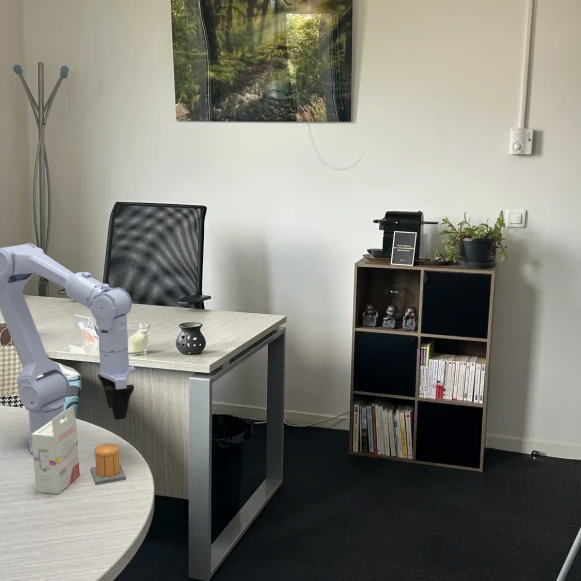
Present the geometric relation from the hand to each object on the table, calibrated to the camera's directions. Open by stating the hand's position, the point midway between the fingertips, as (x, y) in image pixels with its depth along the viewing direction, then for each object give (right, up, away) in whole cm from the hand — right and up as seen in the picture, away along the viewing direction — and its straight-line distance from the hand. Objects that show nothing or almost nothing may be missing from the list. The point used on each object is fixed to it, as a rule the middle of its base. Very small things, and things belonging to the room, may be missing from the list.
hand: (117, 412), depth 151 cm
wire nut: (0, -11, -6) cm, 12 cm away
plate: (0, -11, -6) cm, 13 cm away
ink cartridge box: (-9, -12, -10) cm, 18 cm away
